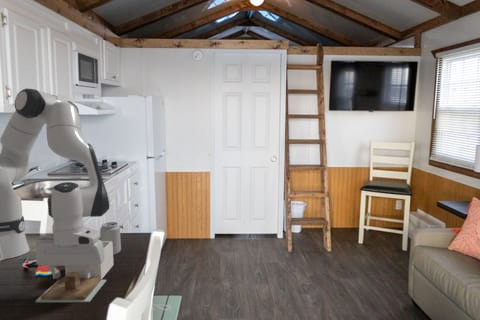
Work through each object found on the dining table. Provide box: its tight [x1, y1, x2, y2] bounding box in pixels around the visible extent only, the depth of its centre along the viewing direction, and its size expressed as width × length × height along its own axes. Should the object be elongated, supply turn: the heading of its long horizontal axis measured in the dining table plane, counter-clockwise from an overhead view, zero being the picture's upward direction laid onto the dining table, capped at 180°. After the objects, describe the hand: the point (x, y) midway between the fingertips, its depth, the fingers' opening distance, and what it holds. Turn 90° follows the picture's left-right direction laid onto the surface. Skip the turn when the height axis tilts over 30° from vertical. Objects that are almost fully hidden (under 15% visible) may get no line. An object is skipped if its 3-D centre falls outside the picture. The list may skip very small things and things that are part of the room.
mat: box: [34, 279, 107, 303], centre depth 116 cm, size 16×14×1 cm
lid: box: [41, 272, 102, 300], centre depth 116 cm, size 13×13×5 cm
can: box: [99, 221, 122, 256], centre depth 147 cm, size 8×8×12 cm
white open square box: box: [64, 241, 114, 280], centre depth 129 cm, size 12×12×9 cm
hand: (71, 278), depth 115 cm, fingers open, 8 cm apart
